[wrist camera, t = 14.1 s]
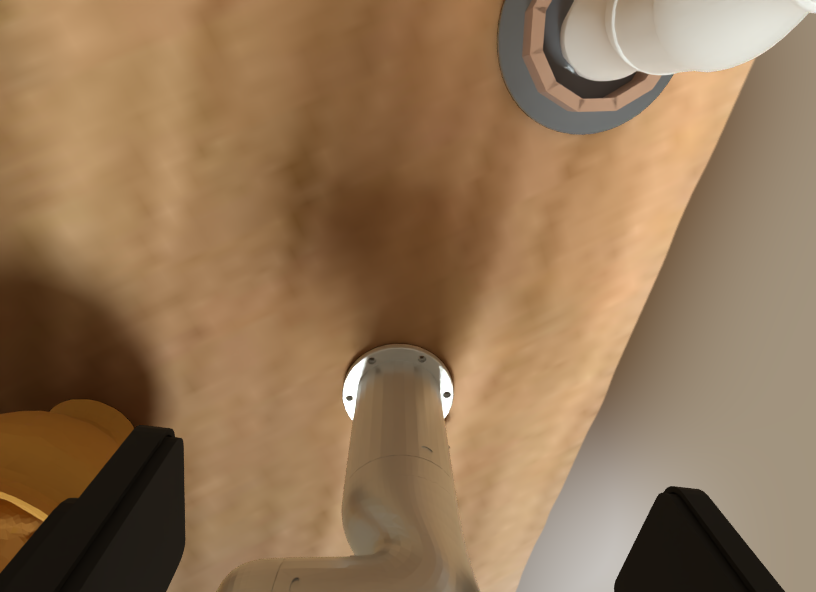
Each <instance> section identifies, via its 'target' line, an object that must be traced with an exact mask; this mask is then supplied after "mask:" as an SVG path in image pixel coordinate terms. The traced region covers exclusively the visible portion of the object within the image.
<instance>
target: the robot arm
mask: <svg viewBox="0 0 816 592" xmlns="http://www.w3.org/2000/svg"><path fill="white" fill-rule="evenodd" d="M421 356H422V357H421ZM371 357H372V358H371ZM453 397H454V391H453V383H452V379H451V376H450V374H449V371H448V369H447V368H446V367H445V365H444V364H443V362H442V361H441V360H440V359H439V358H437V357H436V356H435V355H434V354H432V353H430V352H429V351H427V350H425V349H422V348H420V347H417V346H413V345H408V344H390V345H384V346H380V347H377V348H374V349H372V350H370V351H368V352H366V353H365V354H363V355H362V356H361V357H359V358H358V359H357V360H356V361H355V362H354V364H353V365H352V366H351V367H350V369H349V371H348V372H347V374H346V377H345V381H344V385H343V403H344V406H345V409H346V411H347V413H348V415H349V417H350V418H351V419H352V421H353V422H352V430H351V437H350V445H349V453H348V461H347V468H346V476H345V484H344V492H343V500H342V522H343V528H344V532H345V535H346V538H347V541H348V543H349V545H350V547H351V549H352V551H353V553H354V555H355V556H350V557H298V558H269V559H259V560H254V561H250V562H247V563H244V564H242V565H240V566H238V567H237V568H235V569H234V570H233V571H231V572H230V573H229V574H228V575H227V576H226V578H225V579H224V580H223V581H222V583H221V584H220V586H219V588H218V589H217V591H216V592H480V589H479V586H478V583H477V580H476V577H475V575H474V572H473V569H472V566H471V562H470V559H469V556H468V552H467V548H466V545H465V540H464V536H463V531H462V526H461V521H460V516H459V510H458V504H457V497H456V491H455V485H454V478H453V472H452V465H451V459H450V453H449V448H450V447H449V445H448V440H447V433H446V427H445V420H444V419H445V417H446V416H447V415H448V413H449V411H450V408H451V406H452V403H453ZM184 547H185V499H184V445H183V440H182V438H176V437H175V434H174V431H173V429H170V428H162V427H154V426H145V425H139V426H137V427H136V428H135V429H134V430H133V431H132V432H131V433H130V434H129V436H128V437H127V438H126V439H125V441H124V442H123V443H122V444H121V446H120V447H119V448H118V449H117V450H116V452H115V453H114V454H113V455H112V457H111V458H110V459H109V460H108V462H107V463H106V464H105V465H104V467H103V468H102V469H101V470H100V472H99V473H98V474H97V475H96V477H95V478H94V479H93V480H92V482H91V483H90V484H89V485H88V487H87V488H86V489H85V490H84V492H83V493H82V494H81V495H80V497H79V498H68V499H66V500H64V501H63V502H61V503H60V504H59V505H58V506H57V507H56V508H55V509H54V510H53V511H52V512H51V513H50V515H49V516H48V517H47V518H46V519H45V520H44V522H43V523H42V524H41V525H40V526H39V528H38V529H37V530H36V531H35V532H34V534H33V535H32V536H31V537H30V538H29V540H28V541H27V542H26V543H25V544H24V545H23V547H22V548H21V549H20V550H19V551H18V553H17V554H16V555H15V556H14V557H13V559H12V560H11V561H10V562H9V563H8V565H7V566H6V567H5V568H4V569H3V570H2V572H1V573H0V592H166V591H167V589H168V587H169V584H170V582H171V580H172V578H173V576H174V574H175V572H176V569H177V567H178V565H179V563H180V561H181V558H182V555H183V551H184ZM614 592H785V591H784V590H783V589H782V588H781V586H780V585H779V584H778V582H777V581H776V580H775V579H774V578H773V576H772V575H771V574H770V573H769V571H768V570H767V569H766V567H765V566H764V565H763V564H762V563H761V561H760V560H759V559H758V558H757V556H756V555H755V554H754V553H753V551H752V550H751V549H750V548H749V546H748V545H747V544H746V543H745V541H744V540H743V539H742V538H741V536H740V535H739V534H738V533H737V531H736V530H735V529H734V528H733V526H732V525H731V524H730V523H729V521H728V520H727V519H726V518H725V516H724V515H723V514H722V513H721V511H720V510H719V509H718V508H717V506H716V505H715V504H714V503H713V501H712V500H711V499H710V498H709V496H708V495H707V494H706V493H705V492H703V491H701V490H699V489H691V488H683V487H675V486H670V487H668V488H667V489H666V490H665V491H664V492H663V493H660V494H659V495H658V496H657V498H656V500H655V502H654V504H653V506H652V508H651V510H650V512H649V514H648V516H647V518H646V520H645V522H644V524H643V526H642V528H641V530H640V532H639V534H638V536H637V538H636V540H635V542H634V544H633V546H632V548H631V550H630V553H629V554H628V556H627V558H626V561H625V562H624V565H623V567H622V569H621V571H620V573H619V575H618V577H617V579H616V581H615V585H614Z"/></svg>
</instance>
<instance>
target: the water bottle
mask: <svg viewBox="0 0 816 592" xmlns="http://www.w3.org/2000/svg"><path fill="white" fill-rule="evenodd" d="M808 13H816V0H574V2H573V4H572V6H571V8H570V10H569V11H568V13H567V15H566V17H565V19H564V21H563V23H562V26H561V31H560V46H561V52H562V55H563V57H564V58H565V59H566V61H567V62H568V63H569V64H570V65H571V66H572V67H573V68H574V71H576V73H577V74H578V75H579V76H581V77H584V78H586V79H588V80H594V81H612V80H617V79H621V78H624V77H627V76H629V75H631V74H633V73H634V72H636V71H641V72H644V73H647V74H651V75H670V74H675V73H678V72H688V71H700V72H713V71H720V70H724V69H729V68H733V67H735V66H738V65H740V64H743V63H745V62H748V61H750V60H752V59H754V58H755V57H757V56H759V55H760V54H762V53H764V52H766V51H767V50H768V49H770V48H771V47H773V46H774V45H775V44H776V43H777V42H779V41H780V40H781V39H782V38H784V37H785V36H786V35H787V34H788V33H789V32H790V31H791V30H792V29H793V28H794V27H795V26H797V25H798V24H799V23H800V22H801V21H802V20H803V19H804V17H805V16H806V15H807V14H808Z"/></svg>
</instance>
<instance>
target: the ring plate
mask: <svg viewBox="0 0 816 592" xmlns="http://www.w3.org/2000/svg"><path fill="white" fill-rule="evenodd" d="M573 2H574V0H504V3H503V6H502V9H501V14H500V18H499V23H498V32H497V53H498V61H499V66H500V70H501V74H502V78H503V80H504V83H505V85H506V88H507V90H508V91H509V93H510V95H511V97H512V99H513V100H514V101H515V103H516V104H517V105H518V106H519V108H520V109H521V110H522V111H523V112H524V113H525V114H526V115H527V116H528V117H530V118H531V119H533V120H534V121H535V122H537V123H539V124H540V125H542V126H544V127H546V128H549V129H552V130H555V131H558V132H563V133H569V134H582V135H583V134H593V133H598V132H603V131H607V130H609V129H612V128H615V127H617V126H619V125H621V124H623V123H625V122H627V121H629V120H630V119H632V118H633V117H635V116H636V115H638V114H639V113H641V112H642V111H643V110H644V109H645V108H646V107H648V106H649V105H650V104H651V103H652V102H653V101H654V100H655V99H656V98H657V97H658V96H659V94H660V93H661V92H662V90H663V89H664V88H665V87H666V85H667V84H668V82H669V81H670V79H671V78H672V76H673V74H670V75H651V74H647V73H644V72H641V71H636V72H634V73H633V74H631V75H629V76H627V77H624V78H621V79H617V80H612V81H594V80H588V79H586V78H584V77H581V76H579V75H578V74H577V73H576V71H574V68H573V67H572V66H571V65H570V64H569V63H568V62H567V61H566V59H565V58H564V57H563V55H562V52H561V46H560V31H561V26H562V23H563V21H564V19H565V17H566V15H567V13H568V11H569V10H570V8H571V6H572V4H573Z"/></svg>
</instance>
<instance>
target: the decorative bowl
mask: <svg viewBox="0 0 816 592" xmlns="http://www.w3.org/2000/svg"><path fill="white" fill-rule="evenodd" d="M133 430H134V427H133V426H132V424H131V422H130V421H129V420H128V419H127V418H126V417H125V416H124V415H123V414H122V413H121V412H119V411H117V410H116V409H114V408H113V407H110V406H108V405H106V404H103V403H101V402H99V401H94V400H89V399H72V400H68V401H64V402H62V403H60V404H58V405H56V406H54V407H53V408H52V409H51V411H50V412H46V411H17V412H10V413H4V414H0V573H1V572H2V570H3V569H4V568H5V567H6V566H7V565H8V563H9V562H10V561H11V560H12V559H13V557H14V556H15V555H16V554H17V553H18V551H19V550H20V549H21V548H22V547H23V545H24V544H25V543H26V542H27V541H28V540H29V538H30V537H31V536H32V535H33V534H34V532H35V531H36V530H37V529H38V528H39V526H40V525H41V524H42V523H43V522H44V520H45V519H46V518H47V517H48V516H49V515H50V513H51V512H52V511H53V510H54V509H55V508H56V507H57V506H58V505H59V504H60V503H61V502H63V501H64V500H66V499H68V498H79V497H80V495H81V494H82V493H83V492H84V490H85V489H86V488H87V487H88V485H89V484H90V483H91V482H92V480H93V479H94V478H95V477H96V475H97V474H98V473H99V472H100V470H101V469H102V468H103V467H104V465H105V464H106V463H107V462H108V460H109V459H110V458H111V457H112V455H113V454H114V453H115V452H116V450H117V449H118V448H119V447H120V446H121V444H122V443H123V442H124V441H125V439H126V438H127V437H128V436H129V434H130V433H131V432H132V431H133Z"/></svg>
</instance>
